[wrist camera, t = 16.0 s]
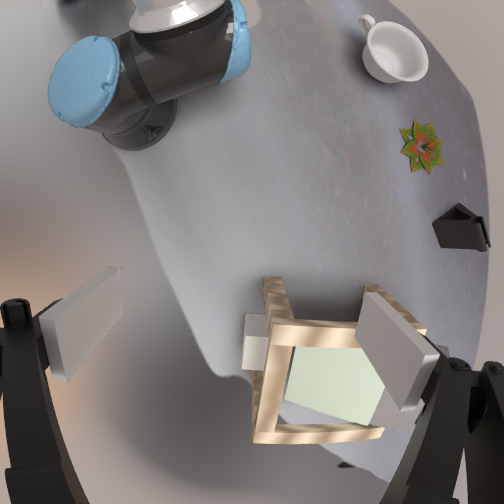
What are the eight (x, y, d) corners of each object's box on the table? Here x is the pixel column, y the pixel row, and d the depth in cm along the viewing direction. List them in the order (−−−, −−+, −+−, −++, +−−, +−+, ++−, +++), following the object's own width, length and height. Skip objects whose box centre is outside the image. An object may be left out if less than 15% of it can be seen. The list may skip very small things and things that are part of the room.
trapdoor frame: (251, 376, 61) (252, 442, 42) (264, 275, 55) (273, 324, 36) (351, 378, 62) (379, 437, 43) (378, 285, 56) (426, 329, 37)
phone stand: (458, 202, 52) (494, 209, 41) (466, 226, 54) (501, 237, 42) (431, 223, 53) (466, 233, 42) (440, 247, 55) (474, 262, 43)
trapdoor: (448, 344, 39) (452, 361, 34) (415, 416, 43) (413, 436, 38) (312, 310, 51) (300, 322, 45) (296, 383, 54) (284, 399, 49)
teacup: (366, 23, 44) (384, 1, 34) (414, 77, 46) (439, 64, 37) (326, 46, 45) (341, 24, 36) (378, 105, 48) (402, 92, 38)
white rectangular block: (272, 371, 50) (269, 345, 59) (278, 338, 49) (274, 315, 57) (241, 369, 50) (242, 343, 59) (245, 335, 48) (245, 312, 57)
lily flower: (405, 182, 52) (417, 182, 48) (388, 123, 49) (399, 119, 45) (448, 169, 51) (461, 169, 47) (433, 114, 49) (445, 111, 44)
